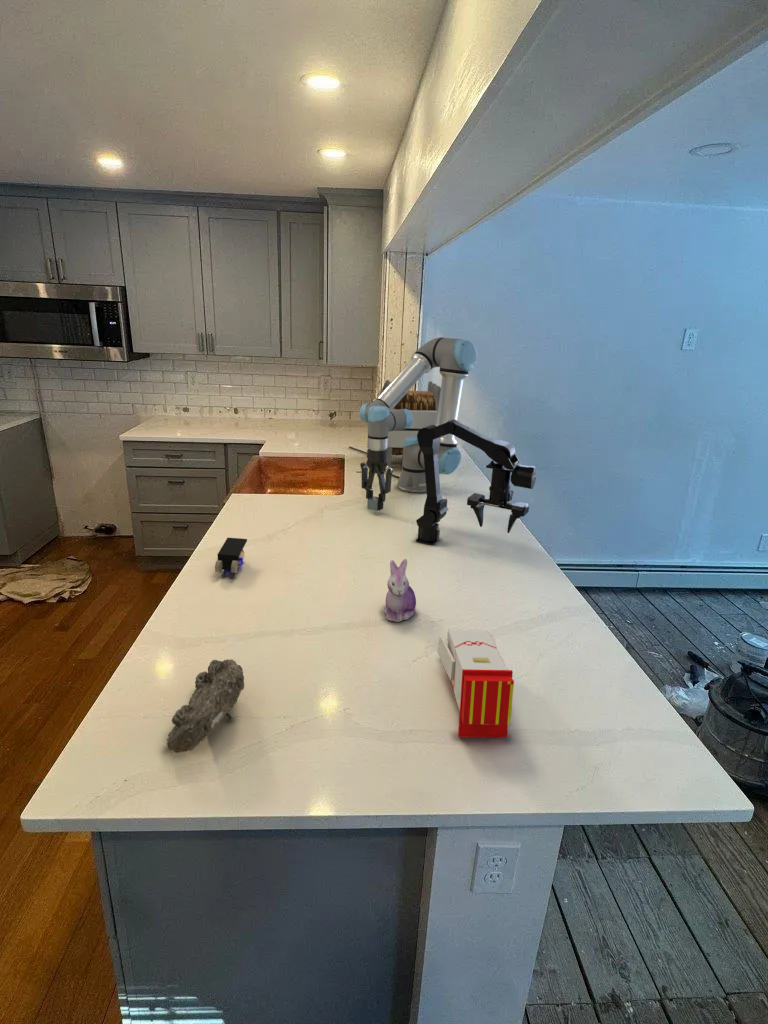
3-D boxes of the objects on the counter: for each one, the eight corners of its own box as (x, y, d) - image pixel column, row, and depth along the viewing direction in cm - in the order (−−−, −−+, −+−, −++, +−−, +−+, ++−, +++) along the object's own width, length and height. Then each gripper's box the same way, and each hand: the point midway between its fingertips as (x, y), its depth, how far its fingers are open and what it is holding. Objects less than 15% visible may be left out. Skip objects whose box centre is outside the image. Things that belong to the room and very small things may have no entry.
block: (376, 511, 215) (377, 501, 214) (367, 509, 217) (368, 499, 216) (382, 508, 219) (383, 498, 217) (373, 506, 221) (374, 496, 219)
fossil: (192, 660, 117) (244, 628, 112) (224, 691, 120) (276, 661, 115) (142, 746, 98) (202, 712, 93) (182, 779, 101) (242, 748, 96)
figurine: (392, 627, 141) (395, 572, 136) (374, 608, 149) (376, 556, 144) (425, 619, 145) (429, 566, 140) (405, 601, 154) (408, 550, 149)
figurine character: (238, 584, 162) (249, 557, 175) (236, 562, 158) (247, 536, 172) (215, 584, 161) (227, 556, 175) (212, 561, 158) (225, 535, 171)
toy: (488, 613, 130) (523, 677, 101) (484, 667, 133) (517, 744, 104) (435, 612, 130) (455, 676, 101) (432, 666, 133) (451, 743, 103)
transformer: (372, 454, 306) (375, 377, 292) (432, 454, 310) (437, 379, 296) (379, 471, 275) (382, 386, 261) (445, 472, 278) (452, 388, 265)
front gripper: (536, 482, 179) (530, 528, 185) (481, 472, 188) (476, 516, 193) (526, 491, 170) (520, 539, 176) (468, 480, 179) (464, 526, 184)
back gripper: (402, 450, 209) (399, 510, 217) (363, 443, 217) (361, 501, 225) (392, 454, 203) (389, 515, 211) (352, 447, 211) (351, 506, 219)
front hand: (494, 529), depth 182 cm, fingers open, 9 cm apart
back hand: (375, 508), depth 218 cm, fingers closed on block, 4 cm apart
